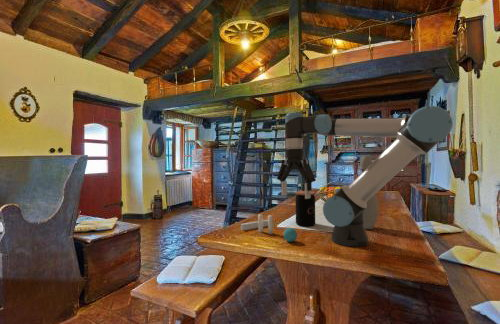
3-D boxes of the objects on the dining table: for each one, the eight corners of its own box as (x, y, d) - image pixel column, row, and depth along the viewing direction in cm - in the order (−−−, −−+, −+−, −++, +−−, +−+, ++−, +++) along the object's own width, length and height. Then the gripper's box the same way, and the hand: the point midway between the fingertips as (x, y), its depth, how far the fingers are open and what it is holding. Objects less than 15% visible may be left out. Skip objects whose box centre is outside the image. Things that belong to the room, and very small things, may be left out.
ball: (300, 242, 115) (299, 228, 115) (289, 244, 112) (289, 230, 112) (291, 238, 120) (291, 225, 120) (280, 240, 117) (280, 227, 117)
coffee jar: (310, 228, 137) (310, 194, 137) (292, 225, 144) (292, 192, 143) (318, 223, 146) (318, 191, 145) (301, 221, 152) (300, 190, 152)
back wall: (271, 225, 143) (270, 220, 143) (242, 230, 134) (242, 224, 134) (268, 224, 145) (268, 219, 145) (240, 229, 136) (240, 223, 136)
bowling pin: (373, 225, 141) (373, 155, 140) (382, 231, 130) (381, 155, 129) (352, 225, 142) (351, 155, 142) (358, 231, 131) (358, 155, 130)
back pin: (263, 231, 131) (263, 214, 131) (260, 232, 130) (259, 215, 130) (261, 230, 133) (261, 214, 133) (257, 231, 132) (257, 214, 132)
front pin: (273, 233, 128) (273, 216, 128) (269, 234, 127) (269, 216, 127) (271, 232, 130) (270, 215, 130) (267, 233, 129) (266, 215, 129)
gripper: (323, 147, 107) (324, 198, 107) (280, 149, 127) (281, 193, 127) (311, 146, 102) (313, 200, 103) (268, 149, 122) (270, 195, 122)
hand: (295, 196), depth 115 cm, fingers open, 13 cm apart
